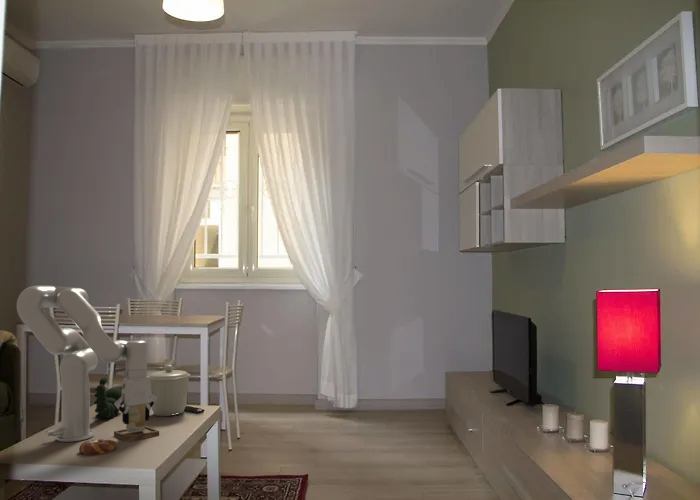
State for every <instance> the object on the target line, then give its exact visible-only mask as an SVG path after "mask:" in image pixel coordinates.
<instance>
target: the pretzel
mask: <svg viewBox="0 0 700 500" xmlns="http://www.w3.org/2000/svg"><path fill="white" fill-rule="evenodd" d="M117 449H118V443H117V442H116V440H112V439H111V440H110V439H92V440H87V441H84V442H82V443H81V444H80V446H79V448H78V452H79V454H82V455H86V456H96V455H101V454H108V453H111V452H112V451H116V450H117Z"/></svg>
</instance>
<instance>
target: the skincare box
mask: <svg viewBox="0 0 700 500" xmlns="http://www.w3.org/2000/svg"><path fill="white" fill-rule="evenodd" d="M145 401H146V398H145ZM145 408H146V402H145V404H142V405H137V406H130V408H129V410H128V414H129V424H127V425H126V428H125V429H126V430H127V432H135V431H145V426H146V420H145Z"/></svg>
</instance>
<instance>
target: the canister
mask: <svg viewBox="0 0 700 500" xmlns="http://www.w3.org/2000/svg"><path fill="white" fill-rule="evenodd" d="M148 376H149V378H150V382H151V391H152V394H153V395H155V396H156V397H157V400H156V401H155V402H154V404H153V406H152V407H151V411H152V413H153V414H154V415H155V416H158V417H170V416H169V415H172V414H176V413H181V414H182V413H183V412H184V411H185V409H186V405H187V397H188V389H189V379H190V377H191V373H188V372H187V371H185V370H180V369H178V370H176V369H175V370H174V367H173V365H171V364H166V365H165V366H164V370H161V371H155V372H154V371H153V372H152V373H150V374H149V375H148Z"/></svg>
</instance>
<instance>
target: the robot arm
mask: <svg viewBox="0 0 700 500" xmlns="http://www.w3.org/2000/svg"><path fill="white" fill-rule="evenodd" d="M89 300H90V298H89V294H88V293H87V292H86V290H85V289H83V288H80V287H67V286H56V285H32V286H29V287H27V288H25V289H23V290H22V291H21V292H20V294H19V295H18V298H17V301H16V312H17V314H18V317H19V318H20V320H21V321H22V322H23V324H24V325H25V326H26V328H28V329H29V330H30V332H31V333H32V334H33V335H34V337H35V338H36V339H37V340H38V342H39V343H40V344H41V345H42V347H44V349H45V350H46V351H47V352H48V353H49V354H51V355H54V356H59V355H63V356H64V357H62V359H61V361H60V364H59V375H60V384H61V413H60V414H61V422H60V423H61V425H59V426H58V427H57V428H56V429H54V430H53V429H52V430H47V431H46V436H47V437H56V441H58V442H61V443H62V442H64V443H66V442H67V443H70V442H72V443H73V442H79V441H80V442H81V441H84V440H89V439H91V438H93V437H94V436H95V431H93V430H90V425H91V423H90V422H91V421H90V417H91V416H90V415H91V414H90V413H91V408H90V407H91V403H90V401H91V385H90V378H89V377H90V376H89V373H91V372H93V371H95V369H96V367H97V365H98V363H99V360H98V359H100V360H102V361H103V362H105V363H109V364H111V363H115V362H118V361H121V360H125V370H124V371H123V372H122V374H121V375H122V377H125V378H124V379H123V382H122V387H121V390H122V396H121V397H120V398H119V399H118V400H117V401H116V402H115V403H114V405H115V406H116V407H117V408H118V409H119V412H121V413H122V418H121V419H122V420H121V421H122V423H123V424H124V425H126V426H127V424H129V414H128V410H129V408H130V406H137V405H142V404H145V402H146V408H145V422H146V421H150V420H149V418H150V413H151V411H150V410H152V406H153V404H154V402H155V401H156V400H157V397H156V396H155V395H153V394H152V391H151V382H150V378H149V375H148V343H147V341H146V340H123V339H116V340H113V339H111V337H110V336H109V335H108V334H107V332H105V331H106V330H104V328H103V325H102V319H101V318H102V317H101V314H100V313H99V312H98V311H97V310H96V309H95V308H94V306H92V305H91V304H90V303H89ZM44 308H53V309H55V308H56V309H61V311H62V312H64V314H65V315H66V316H67V317H68V318H69V319H70V320H71V321H72V322H73V323H74V325H76V327H77V328H78V329H79V330H80V332H81V334H82V335H81V334H80V333H79V332H78V331H77V330H76V329H74V328H71V327H61V325H60V324H58V322H57V321H56V320H55V319H54V317H53V316H52V315H51V314H49V313H48V312H47V311H46V310H45V309H44ZM98 357H99V358H98ZM145 398H146V401H145ZM121 402H122V404H123V405H122V406H121V405H120V403H121Z"/></svg>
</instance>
